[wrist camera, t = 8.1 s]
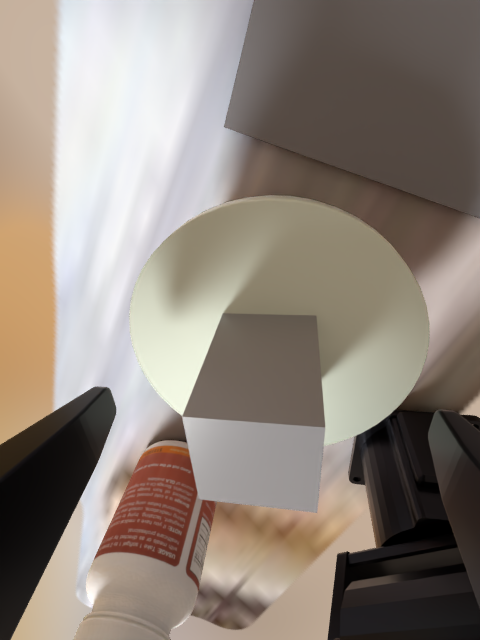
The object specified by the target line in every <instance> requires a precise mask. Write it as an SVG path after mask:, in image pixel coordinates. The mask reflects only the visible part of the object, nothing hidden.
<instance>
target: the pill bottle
mask: <svg viewBox="0 0 480 640" xmlns="http://www.w3.org/2000/svg"><path fill="white" fill-rule="evenodd" d="M216 502H217V501H210V500H201V499H199V497H198V492H197V487H196V482H195V477H194V473H193V468H192V463H191V458H190V453H189V448H188V444H187V443H186V442H182V441H175V440H165V441H160V442H157V443H154V444H152V445H151V446H149V447H148V448H147V449H146V450H145V451H144V452H143V454H142V456H141V458H140V459H139V461H138V464H137V466H136V468H135V470H134V472H133V475H132V477H131V479H130V481H129V483H128V486H127V488H126V490H125V492H124V494H123V497H122V499H121V501H120V503H119V506H118V508H117V510H116V512H115V514H114V516H113V519H112V521H111V523H110V525H109V527H108V529H107V532H106V534H105V536H104V538H103V540H102V543H101V545H100V547H99V549H98V551H97V554H96V556H95V558H94V560H93V563H92V565H91V568H90V570H89V572H88V576H87V580H86V591H87V595H88V598H89V600H90V602H91V603H92V605H93V609H92V612H91V613H89V614H87V615H86V616H85V617H84V619H83V622H81V623H80V624H79V627H78V629H77V632H76V635H75V637H74V640H171V639H170V637H169V634H170V631H171V629H173V628H176V627H178V626H180V625H181V624H182V623H184V622H185V621H186V620H187V619H188V617H189V616H190V614H191V613H192V611H193V609H194V606H195V603H196V598H197V594H198V590H199V585H200V580H201V575H202V570H203V565H204V560H205V555H206V550H207V545H208V541H209V536H210V531H211V526H212V521H213V517H214V512H215V507H216Z"/></svg>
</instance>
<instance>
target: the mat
mask: <svg viewBox="0 0 480 640" xmlns="http://www.w3.org/2000/svg"><path fill="white" fill-rule="evenodd" d="M224 127H225V128H228V129H231V130H234V131H236V132H239V133H242V134H245V135H248V136H250V137H253V138H256V139H259V140H262V141H264V142H267V143H270V144H273V145H276V146H278V147H281V148H284V149H287V150H290V151H292V152H295V153H298V154H301V155H304V156H307V157H309V158H312V159H315V160H318V161H321V162H323V163H326V164H329V165H332V166H335V167H337V168H340V169H343V170H346V171H349V172H351V173H354V174H357V175H360V176H363V177H365V178H368V179H371V180H374V181H377V182H379V183H382V184H385V185H388V186H391V187H394V188H396V189H399V190H402V191H405V192H408V193H410V194H413V195H416V196H419V197H422V198H424V199H427V200H430V201H433V202H436V203H438V204H441V205H444V206H447V207H450V208H452V209H455V210H458V211H461V212H464V213H467V214H469V215H472V216H475V217H478V218H480V0H254V3H253V7H252V11H251V15H250V20H249V24H248V28H247V32H246V36H245V41H244V45H243V49H242V53H241V58H240V62H239V66H238V70H237V74H236V79H235V83H234V87H233V91H232V95H231V100H230V104H229V108H228V112H227V116H226V121H225V125H224Z"/></svg>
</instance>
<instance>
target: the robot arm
mask: <svg viewBox="0 0 480 640" xmlns="http://www.w3.org/2000/svg"><path fill="white" fill-rule="evenodd" d="M115 415H116V405H115V402H114V399H113V396H112V393H111V390H110V389H109V388H107V387H93V388H92V389H90V390H88V391H87V392H85V393H84V394H82V395H80V396H79V397H77V398H75V399H74V400H72V401H71V402H69V403H67V404H66V405H64V406H62V407H61V408H59V409H58V410H56V411H54V412H53V413H51V414H50V415H48V416H46V417H45V418H43V419H42V420H40V421H38V422H37V423H35V424H33V425H32V426H30V427H28V428H27V429H25V430H24V431H22V432H21V433H19V434H17V435H15V436H14V437H12V438H11V439H9V440H7V441H6V442H4V443H2V444H1V445H0V640H11V638H12V636H13V633H14V631H15V629H16V627H17V625H18V623H19V621H20V619H21V617H22V615H23V613H24V611H25V609H26V607H27V605H28V603H29V601H30V599H31V597H32V595H33V593H34V591H35V589H36V587H37V585H38V583H39V581H40V579H41V577H42V575H43V573H44V571H45V569H46V567H47V565H48V563H49V561H50V559H51V556H52V555H53V552H54V550H55V548H56V546H57V544H58V542H59V540H60V538H61V536H62V534H63V532H64V530H65V528H66V526H67V524H68V522H69V520H70V518H71V516H72V514H73V512H74V510H75V508H76V506H77V504H78V502H79V500H80V498H81V496H82V494H83V492H84V490H85V488H86V486H87V484H88V482H89V480H90V477H91V475H92V473H93V471H94V469H95V467H96V465H97V463H98V460H99V458H100V456H101V453H102V450H103V448H104V445H105V442H106V440H107V437H108V434H109V432H110V429H111V426H112V423H113V421H114V418H115ZM472 424H473V425H472ZM348 475H349V481H350V482H352V483H354V484H361V485H365V486H366V491H367V497H368V503H369V509H370V514H371V520H372V526H373V531H374V537H375V542H376V548H373V549H368V550H363V551H358V552H353V553H349V552H344V553H339V554H338V555H337V562H336V572H335V580H334V589H333V598H332V606H331V615H330V624H329V633H328V640H480V418H479V417H477V416H472V415H460V414H458V413H457V412H455V411H453V410H437V411H436V412H435V413H429V412H415V411H400V410H394V411H393V412H392V413H391V414H390V415H389V416H387V417H386V418H385V419H383V420H382V421H381V422H379V423H378V424H376V425H375V426H373V427H371V428H370V429H368V430H366V431H365V432H363V433H361V434H358V435H356V436H355V437H354V443H353V449H352V454H351V460H350V466H349V472H348Z"/></svg>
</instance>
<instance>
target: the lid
mask: <svg viewBox="0 0 480 640" xmlns="http://www.w3.org/2000/svg"><path fill="white" fill-rule="evenodd" d="M129 323H130V335H131V340H132V345H133V349H134V352H135V354H136V357H137V360H138V363H139V365H140V367H141V369H142V371H143V373H144V375H145V376H146V378H147V379H148V381H149V382H150V384H151V385H152V387H153V388H154V389H155V390H156V392H157V393H158V394H159V395H160V396H161V398H162V399H163V400H164V401H165V402H166V403H167V404H168V405H169V406H171V407H172V408H173V409H174V410H175V411H176V412H178V413H179V414H180V415H181V416H182V419H183V424H184V429H185V434H186V439H187V444H188V448H189V453H190V458H191V463H192V468H193V473H194V477H195V482H196V487H197V492H198V497H199V499H201V500H210V501H218V502H227V503H236V504H245V505H253V506H262V507H271V508H279V509H288V510H297V511H306V512H314V513H317V509H318V499H319V489H320V478H321V468H322V458H323V448H324V446H326V445H331V444H335V443H338V442H341V441H344V440H347V439H350V438H352V437H354V436H356V435H358V434H361V433H363V432H365V431H366V430H368V429H370V428H371V427H373V426H375V425H376V424H378V423H379V422H381V421H382V420H383V419H385V418H386V417H387V416H389V415H390V414H391V413H392V412H393V411H394V410H395V409H396V408H397V407H398V406H399V405H400V404H401V403H402V402H403V401H404V399H405V398H406V397H407V396H408V394H409V393H410V392H411V390H412V389H413V387H414V385H415V383H416V382H417V380H418V378H419V376H420V374H421V372H422V369H423V366H424V363H425V361H426V357H427V351H428V346H429V318H428V312H427V306H426V303H425V300H424V297H423V295H422V292H421V289H420V286H419V285H418V283H417V281H416V279H415V277H414V276H413V274H412V272H411V270H410V269H409V267H408V266H407V264H406V263H405V262H404V260H403V259H402V258H401V256H400V255H399V254H398V253H397V251H396V250H395V249H394V248H393V246H392V245H391V244H390V243H389V242H388V241H387V240H386V239H385V238H384V237H383V236H382V235H381V234H380V233H378V232H377V231H376V230H375V229H374V228H372V227H371V226H369V225H368V224H367V223H365V222H364V221H362V220H361V219H359V218H358V217H356V216H354V215H352V214H350V213H348V212H346V211H344V210H342V209H340V208H338V207H335V206H332V205H329V204H326V203H323V202H319V201H316V200H312V199H307V198H301V197H295V196H280V195H265V196H255V197H246V198H242V199H238V200H234V201H229V202H225V203H223V204H220V205H218V206H215V207H213V208H210V209H208V210H205V211H204V212H202V213H200V214H199V215H197V216H195V217H193V218H192V219H190V220H188V221H187V222H186V223H184V224H183V225H182V226H181V227H179V228H178V229H177V230H176V231H174V232H173V233H172V234H171V235H170V236H169V237H168V238H167V239H166V240H165V241H164V242H163V243H162V244H161V245H160V246H159V247H158V248H157V249H156V250H155V251H154V253H153V254H152V255H151V256H150V258H149V260H148V261H147V263H146V264H145V266H144V267H143V269H142V271H141V273H140V275H139V277H138V279H137V282H136V284H135V287H134V291H133V294H132V298H131V304H130V313H129Z"/></svg>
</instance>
